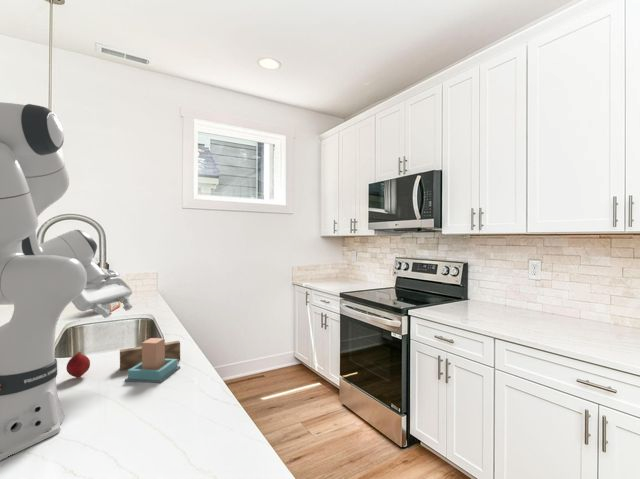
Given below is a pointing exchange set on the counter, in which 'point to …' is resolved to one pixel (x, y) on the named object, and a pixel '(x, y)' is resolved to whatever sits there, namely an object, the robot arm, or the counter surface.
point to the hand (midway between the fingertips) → (119, 312)
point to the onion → (78, 365)
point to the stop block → (153, 353)
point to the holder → (152, 372)
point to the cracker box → (112, 305)
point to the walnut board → (134, 355)
